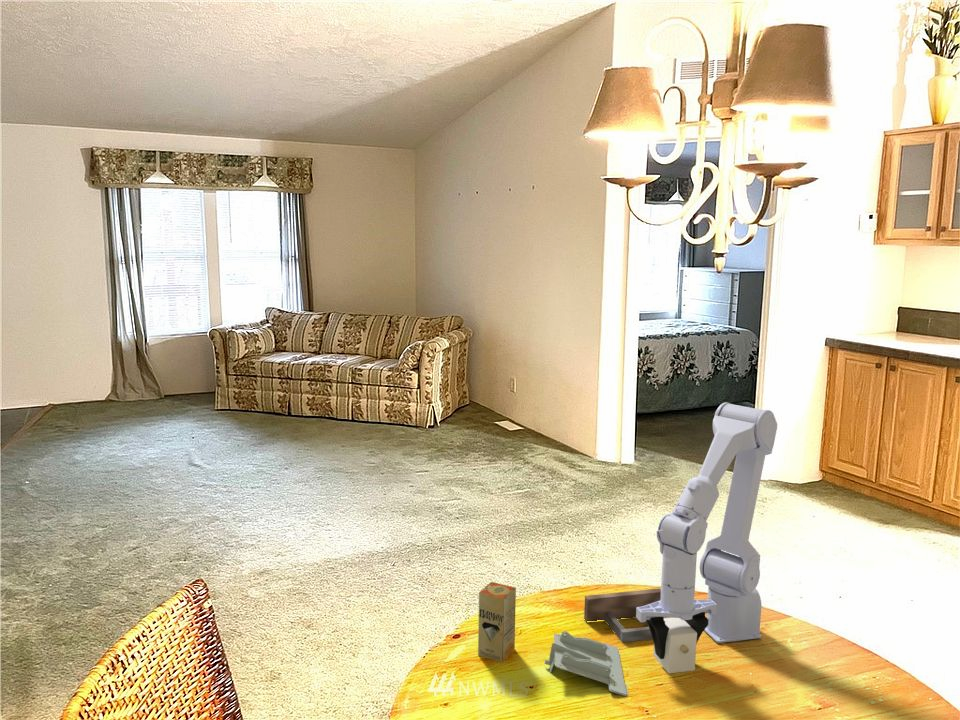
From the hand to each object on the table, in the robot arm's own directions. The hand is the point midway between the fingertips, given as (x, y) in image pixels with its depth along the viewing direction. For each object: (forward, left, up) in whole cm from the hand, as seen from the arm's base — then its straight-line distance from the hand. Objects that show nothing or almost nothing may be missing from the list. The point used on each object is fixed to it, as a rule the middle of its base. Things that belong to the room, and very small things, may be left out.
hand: (674, 654), depth 137 cm
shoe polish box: (+30, -10, -2) cm, 32 cm away
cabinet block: (0, 0, -2) cm, 2 cm away
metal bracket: (+16, -1, -2) cm, 16 cm away
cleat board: (+2, -13, -2) cm, 13 cm away
